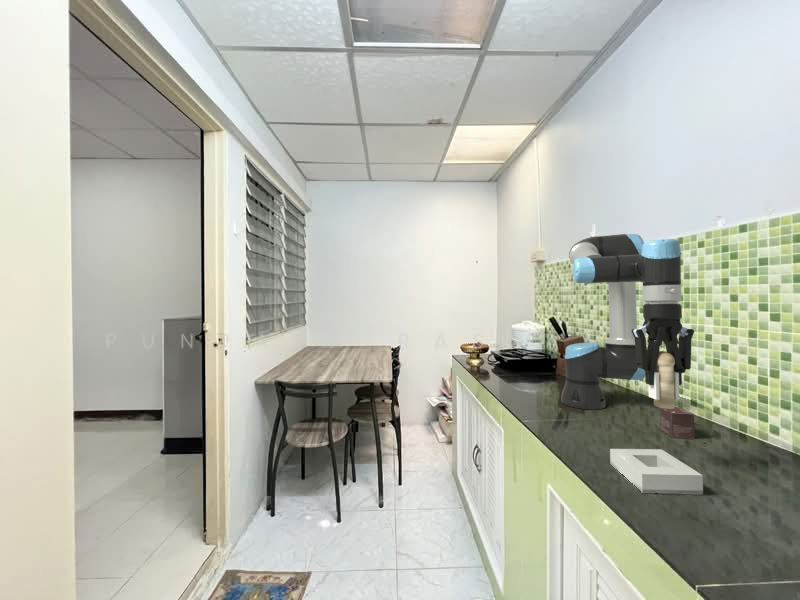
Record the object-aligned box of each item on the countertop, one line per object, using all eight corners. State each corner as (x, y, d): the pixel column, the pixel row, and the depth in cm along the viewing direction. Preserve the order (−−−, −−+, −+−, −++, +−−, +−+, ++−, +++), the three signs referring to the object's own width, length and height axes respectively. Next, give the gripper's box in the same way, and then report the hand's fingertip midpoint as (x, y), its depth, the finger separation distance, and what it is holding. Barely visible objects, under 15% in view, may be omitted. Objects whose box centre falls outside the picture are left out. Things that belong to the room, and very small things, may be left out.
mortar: (610, 465, 82) (610, 448, 82) (661, 465, 81) (661, 449, 81) (642, 493, 70) (642, 474, 70) (703, 494, 69) (702, 475, 69)
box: (695, 439, 96) (694, 414, 96) (671, 438, 97) (670, 413, 97) (682, 431, 102) (681, 407, 102) (659, 430, 103) (659, 406, 103)
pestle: (647, 403, 85) (646, 350, 85) (666, 403, 84) (665, 349, 85) (661, 409, 80) (659, 352, 80) (681, 409, 80) (679, 352, 80)
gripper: (635, 303, 79) (637, 402, 79) (711, 302, 78) (713, 402, 78) (617, 303, 87) (618, 393, 86) (685, 302, 86) (687, 394, 86)
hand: (663, 397), depth 82 cm, fingers closed on pestle, 4 cm apart
